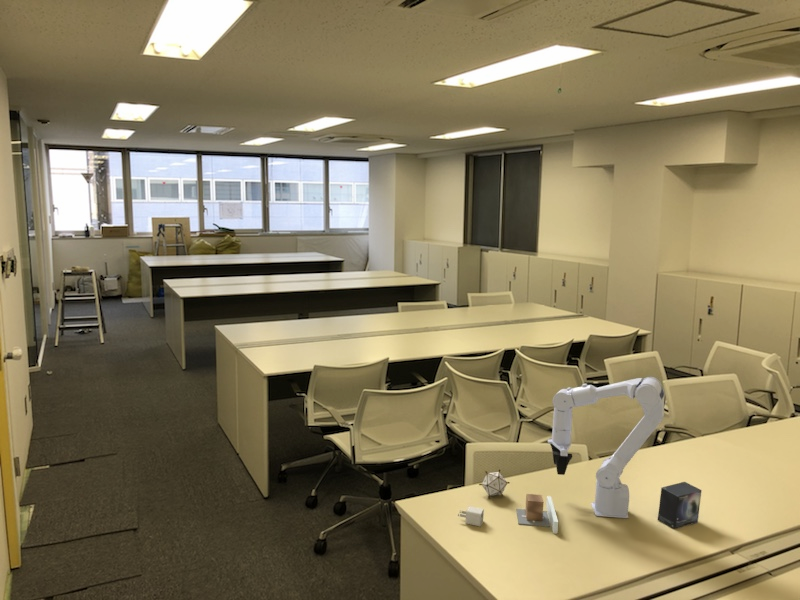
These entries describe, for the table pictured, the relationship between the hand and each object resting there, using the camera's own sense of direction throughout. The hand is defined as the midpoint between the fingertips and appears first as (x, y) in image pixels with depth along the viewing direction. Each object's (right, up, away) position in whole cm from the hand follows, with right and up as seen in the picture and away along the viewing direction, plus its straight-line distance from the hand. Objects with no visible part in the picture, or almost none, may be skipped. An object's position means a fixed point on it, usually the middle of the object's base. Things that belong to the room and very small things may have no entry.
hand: (559, 469), depth 195 cm
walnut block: (-10, -11, -11) cm, 19 cm away
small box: (+33, -13, -11) cm, 37 cm away
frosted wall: (-5, -12, -12) cm, 18 cm away
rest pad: (-11, -11, -11) cm, 19 cm away
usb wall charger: (-30, -12, -14) cm, 35 cm away
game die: (-20, -9, +3) cm, 22 cm away
